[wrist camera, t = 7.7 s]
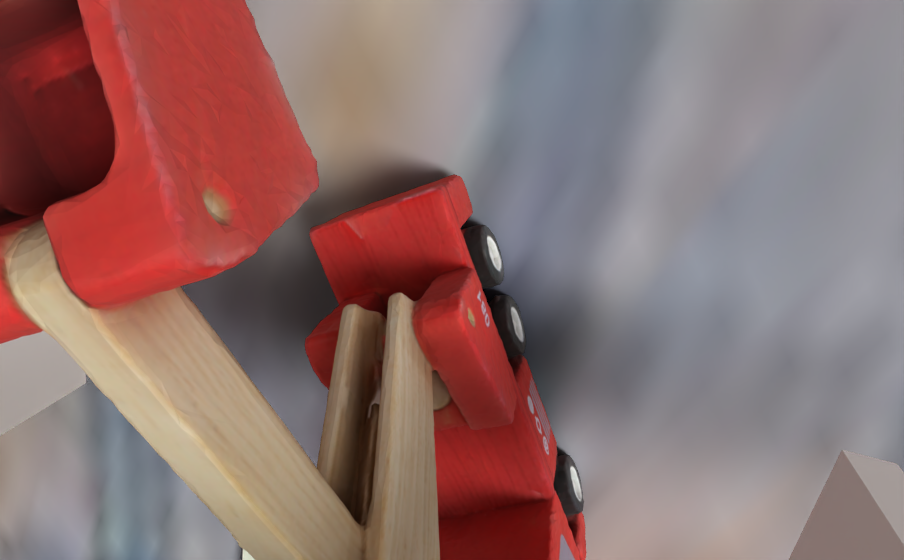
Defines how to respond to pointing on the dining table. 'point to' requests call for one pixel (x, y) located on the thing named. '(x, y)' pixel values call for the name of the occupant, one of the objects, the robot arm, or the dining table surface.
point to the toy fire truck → (234, 240)
